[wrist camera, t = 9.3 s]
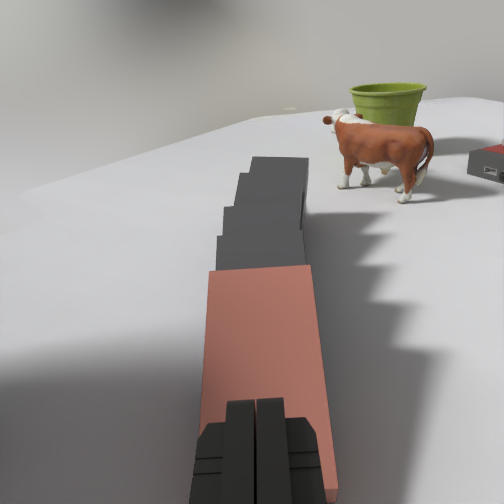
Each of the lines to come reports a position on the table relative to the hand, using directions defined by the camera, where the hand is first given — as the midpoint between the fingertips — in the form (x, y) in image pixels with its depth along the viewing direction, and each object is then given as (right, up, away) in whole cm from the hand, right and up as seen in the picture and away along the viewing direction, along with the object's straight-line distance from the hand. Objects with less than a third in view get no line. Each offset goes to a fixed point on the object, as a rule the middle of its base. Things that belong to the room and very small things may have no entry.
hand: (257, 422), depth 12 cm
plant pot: (+18, +18, +50) cm, 55 cm away
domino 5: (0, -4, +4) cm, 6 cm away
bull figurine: (+13, +11, +37) cm, 41 cm away
